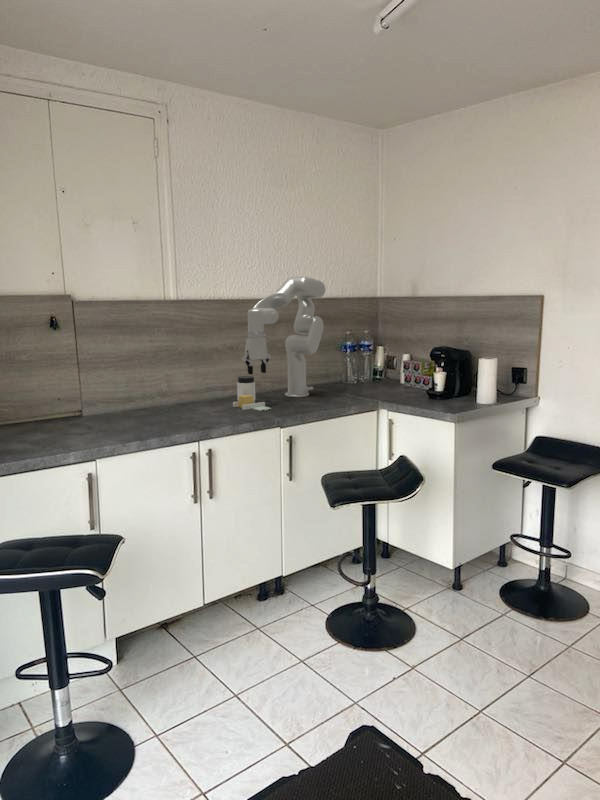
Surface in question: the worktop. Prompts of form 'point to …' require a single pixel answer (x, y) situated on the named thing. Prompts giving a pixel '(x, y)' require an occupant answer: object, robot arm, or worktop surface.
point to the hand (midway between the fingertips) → (257, 373)
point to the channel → (249, 405)
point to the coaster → (261, 408)
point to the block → (245, 400)
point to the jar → (246, 386)
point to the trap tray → (267, 402)
